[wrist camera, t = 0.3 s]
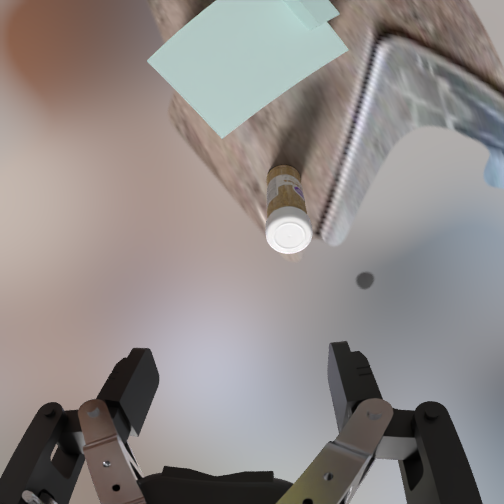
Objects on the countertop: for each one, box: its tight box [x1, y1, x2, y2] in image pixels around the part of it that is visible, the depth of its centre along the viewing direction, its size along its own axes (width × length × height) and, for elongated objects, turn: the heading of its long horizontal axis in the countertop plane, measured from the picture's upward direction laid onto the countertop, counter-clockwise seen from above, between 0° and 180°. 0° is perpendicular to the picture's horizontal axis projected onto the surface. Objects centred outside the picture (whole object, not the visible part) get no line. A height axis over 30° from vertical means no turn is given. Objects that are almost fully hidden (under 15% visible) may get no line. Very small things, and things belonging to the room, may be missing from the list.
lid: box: [147, 0, 348, 139], centre depth 21 cm, size 11×15×7 cm
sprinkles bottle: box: [266, 165, 312, 254], centre depth 35 cm, size 5×5×14 cm
